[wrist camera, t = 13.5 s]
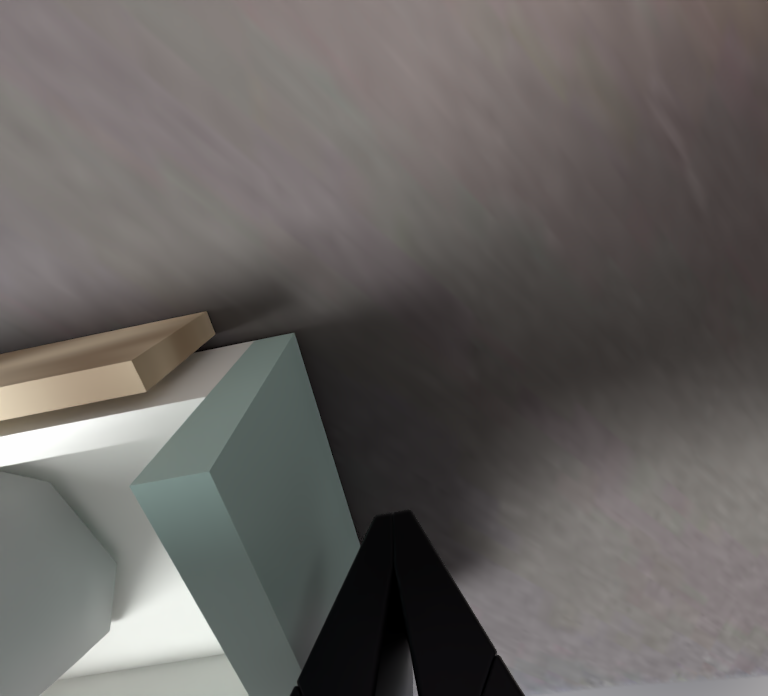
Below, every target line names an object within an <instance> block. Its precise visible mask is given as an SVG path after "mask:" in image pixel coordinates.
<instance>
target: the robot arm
mask: <svg viewBox="0 0 768 696" xmlns="http://www.w3.org/2000/svg"><path fill="white" fill-rule="evenodd" d="M412 665H413V670H414V675H415V680H416V686H417V691H418V696H525V695H524V693H523V692H522V690H521V689H520V687H519V686H518V684H517V683H516V681H515V680H514V678H513V676H512V675H511V673H510V671H509V670H508V668H507V666H506V665H505V663H504V662H503V660H502V658H501V657H500V656H499V655H497V651H496V649H495V647H494V646H493V644H492V642H491V641H490V639H489V637H488V636H487V634H486V632H485V631H484V629H483V627H482V626H481V624H480V623H479V621H478V619H477V618H476V616H475V614H474V613H473V611H472V609H471V608H470V606H469V604H468V603H467V601H466V600H465V598H464V596H463V595H462V593H461V591H460V590H459V588H458V586H457V585H456V583H455V581H454V580H453V578H452V576H451V575H450V573H449V572H448V570H447V568H446V567H445V565H444V563H443V562H442V560H441V558H440V557H439V555H438V553H437V552H436V550H435V548H434V547H433V545H432V544H431V542H430V540H429V539H428V537H427V535H426V534H425V532H424V530H423V529H422V527H421V525H420V524H419V522H418V521H417V519H416V517H415V516H414V514H413V512H412V511H411V510H403V511H398V512H394V513H386V514H380V515H376V516H375V517H374V519H373V521H372V523H371V525H370V527H369V529H368V532H367V534H366V536H365V538H364V540H363V542H362V544H361V546H360V548H359V551H358V553H357V555H356V557H355V559H354V561H353V563H352V565H351V567H350V570H349V572H348V574H347V576H346V578H345V580H344V582H343V584H342V587H341V589H340V591H339V593H338V595H337V597H336V599H335V601H334V603H333V606H332V608H331V610H330V612H329V614H328V616H327V618H326V620H325V622H324V625H323V627H322V629H321V631H320V633H319V635H318V637H317V639H316V642H315V644H314V646H313V648H312V650H311V652H310V654H309V656H308V658H307V661H306V663H305V665H304V667H303V669H302V671H301V673H300V675H299V678H298V680H297V685H298V686H294V688H293V690H292V692H291V694H290V696H413V672H412Z"/></svg>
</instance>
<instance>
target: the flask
mask: <svg viewBox="0 0 768 696" xmlns="http://www.w3.org/2000/svg"><path fill="white" fill-rule="evenodd" d="M116 570H117V563H116V561H115V560H114V559H113V558H112V557H111V555H110V554H109V553H108V552H107V551H106V549H105V548H104V547H103V546H102V545H101V543H100V542H99V541H98V540H97V539H96V537H95V536H94V535H93V534H92V533H91V531H90V530H89V529H88V528H87V527H86V525H85V524H84V523H83V522H82V520H81V519H80V518H79V517H78V516H77V514H76V513H75V512H74V511H73V510H72V508H71V507H70V506H69V505H68V504H67V502H66V501H65V500H64V499H63V498H62V496H61V495H60V494H59V493H58V492H57V490H56V489H55V488H54V487H53V486H52V484H51V483H50V482H47V481H43V480H38V479H34V478H29V477H25V476H20V475H16V474H11V473H7V472H3V471H0V696H39V695H40V694H42V693H43V692H44V691H45V690H46V689H47V688H48V687H49V686H50V685H52V684H53V683H54V682H55V681H56V680H57V679H58V678H59V677H61V676H62V675H63V674H64V673H65V672H66V671H67V670H68V669H70V668H71V667H72V666H73V665H74V664H75V663H76V662H77V661H78V660H79V659H80V658H82V657H83V656H84V655H85V654H86V653H87V652H88V651H89V650H90V649H91V648H92V647H93V646H94V645H95V644H97V643H98V642H99V641H100V640H101V639H102V638H103V637H104V636H105V635H106V634H107V633H108V632H109V631H110V625H111V616H112V606H113V597H114V588H115V579H116Z"/></svg>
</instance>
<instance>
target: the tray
mask: <svg viewBox="0 0 768 696" xmlns="http://www.w3.org/2000/svg"><path fill="white" fill-rule="evenodd" d="M0 471H3V472H7V473H11V474H16V475H20V476H25V477H29V478H34V479H38V480H43V481H47V482H50V483H51V484H52V486H53V487H54V488H55V489H56V490H57V492H58V493H59V494H60V495H61V496H62V498H63V499H64V500H65V501H66V502H67V504H68V505H69V506H70V507H71V508H72V510H73V511H74V512H75V513H76V514H77V516H78V517H79V518H80V519H81V520H82V522H83V523H84V524H85V525H86V527H87V528H88V529H89V530H90V531H91V533H92V534H93V535H94V536H95V537H96V539H97V540H98V541H99V542H100V543H101V545H102V546H103V547H104V548H105V549H106V551H107V552H108V553H109V554H110V555H111V557H112V558H113V559H114V560H115V561H116V563H117V570H116V579H115V588H114V597H113V606H112V616H111V625H110V631H109V632H108V633H107V634H106V635H105V636H104V637H103V638H102V639H101V640H100V641H99V642H98V643H97V644H95V645H94V646H93V647H92V648H91V649H90V650H89V651H88V652H87V653H86V654H85V655H84V656H83V657H82V658H80V659H79V660H78V661H77V662H76V663H75V664H74V665H73V666H72V667H71V668H70V669H68V670H67V671H66V672H65V673H64V674H63V675H62V676H61V677H59V678H58V679H57V680H56V681H55V682H54V683H53V684H52V685H50V686H49V687H48V688H47V689H46V690H45V691H44V692H43V693H42V694H40V695H39V696H290V694H291V692H292V690H293V688H294V686H298V685H297V680H298V678H299V675H300V673H301V671H302V669H303V667H304V665H305V663H306V661H307V658H308V656H309V654H310V652H311V650H312V648H313V646H314V644H315V642H316V639H317V637H318V635H319V633H320V631H321V629H322V627H323V625H324V622H325V620H326V618H327V616H328V614H329V612H330V610H331V608H332V606H333V603H334V601H335V599H336V597H337V595H338V593H339V591H340V589H341V587H342V584H343V582H344V580H345V578H346V576H347V574H348V572H349V570H350V567H351V565H352V563H353V561H354V559H355V557H356V555H357V553H358V551H359V548H360V543H359V540H358V537H357V534H356V530H355V527H354V524H353V521H352V518H351V514H350V511H349V508H348V505H347V501H346V498H345V495H344V492H343V488H342V485H341V482H340V479H339V475H338V472H337V469H336V466H335V462H334V459H333V456H332V453H331V450H330V446H329V443H328V440H327V437H326V433H325V430H324V427H323V424H322V420H321V417H320V414H319V411H318V407H317V404H316V401H315V398H314V395H313V391H312V388H311V385H310V382H309V378H308V375H307V372H306V369H305V365H304V362H303V359H302V356H301V352H300V349H299V346H298V343H297V340H296V336H295V333H290V334H285V335H280V336H275V337H270V338H265V339H260V340H255V341H250V342H245V343H240V344H235V345H230V346H225V347H220V348H216V349H211V350H206V351H201V352H196V353H193V354H191V355H190V356H189V357H188V358H187V359H185V360H184V361H183V362H182V363H181V364H179V365H178V366H177V367H176V368H175V369H173V370H172V371H171V372H170V373H169V374H167V375H166V376H165V377H164V378H163V379H162V380H160V381H159V382H158V383H157V384H156V385H154V386H153V387H152V388H151V389H150V390H148V391H147V392H144V393H139V394H134V395H129V396H124V397H118V398H113V399H108V400H103V401H98V402H93V403H88V404H83V405H78V406H73V407H68V408H63V409H58V410H53V411H48V412H43V413H37V414H32V415H27V416H22V417H17V418H12V419H7V420H2V421H0Z"/></svg>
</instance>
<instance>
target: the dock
mask: <svg viewBox="0 0 768 696" xmlns="http://www.w3.org/2000/svg"><path fill="white" fill-rule="evenodd" d="M214 335H215V331H214V329H213V326H212V324H211V321H210V319H209V316H208V313H207V311H205V312H200V313H195V314H190V315H186V316H181V317H176V318H171V319H166V320H162V321H157V322H152V323H147V324H142V325H138V326H133V327H128V328H123V329H118V330H114V331H109V332H104V333H99V334H94V335H90V336H85V337H80V338H75V339H70V340H66V341H61V342H56V343H51V344H46V345H42V346H37V347H32V348H27V349H22V350H17V351H13V352H8V353H3V354H0V421H2V420H7V419H12V418H17V417H22V416H27V415H32V414H37V413H43V412H48V411H53V410H58V409H63V408H68V407H73V406H78V405H83V404H88V403H93V402H98V401H103V400H108V399H113V398H118V397H124V396H129V395H134V394H139V393H144V392H147V391H148V390H150V389H151V388H152V387H153V386H154V385H156V384H157V383H158V382H159V381H160V380H162V379H163V378H164V377H165V376H166V375H167V374H169V373H170V372H171V371H172V370H173V369H175V368H176V367H177V366H178V365H179V364H181V363H182V362H183V361H184V360H185V359H187V358H188V357H189V356H190V355H191V354H193V353H194V352H195V351H196V350H197V349H199V348H200V347H201V346H202V345H203V344H204V343H206V342H207V341H208V340H209V339H210V338H212V337H213V336H214Z"/></svg>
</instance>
